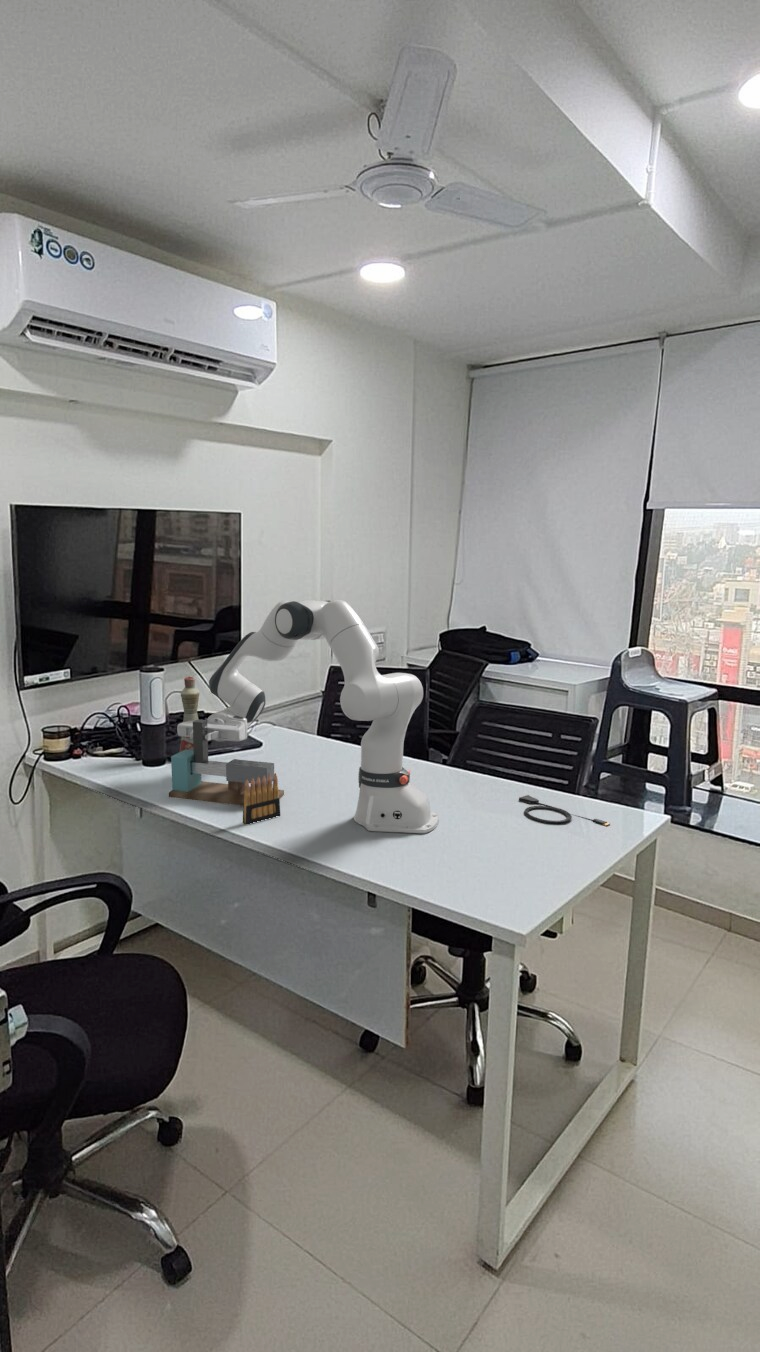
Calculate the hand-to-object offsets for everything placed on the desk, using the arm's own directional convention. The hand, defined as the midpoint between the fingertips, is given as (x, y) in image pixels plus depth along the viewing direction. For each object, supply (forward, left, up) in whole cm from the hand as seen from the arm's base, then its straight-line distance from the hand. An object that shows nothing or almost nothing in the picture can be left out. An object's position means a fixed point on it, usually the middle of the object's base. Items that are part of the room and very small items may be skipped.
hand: (198, 737), depth 222 cm
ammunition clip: (-25, +13, -17) cm, 33 cm away
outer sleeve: (-15, -1, -12) cm, 19 cm away
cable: (-99, -14, -18) cm, 101 cm away
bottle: (+21, -33, -17) cm, 43 cm away
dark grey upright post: (-4, -1, -11) cm, 11 cm away
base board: (-8, -1, -17) cm, 19 cm away
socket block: (+5, -1, -16) cm, 16 cm away
